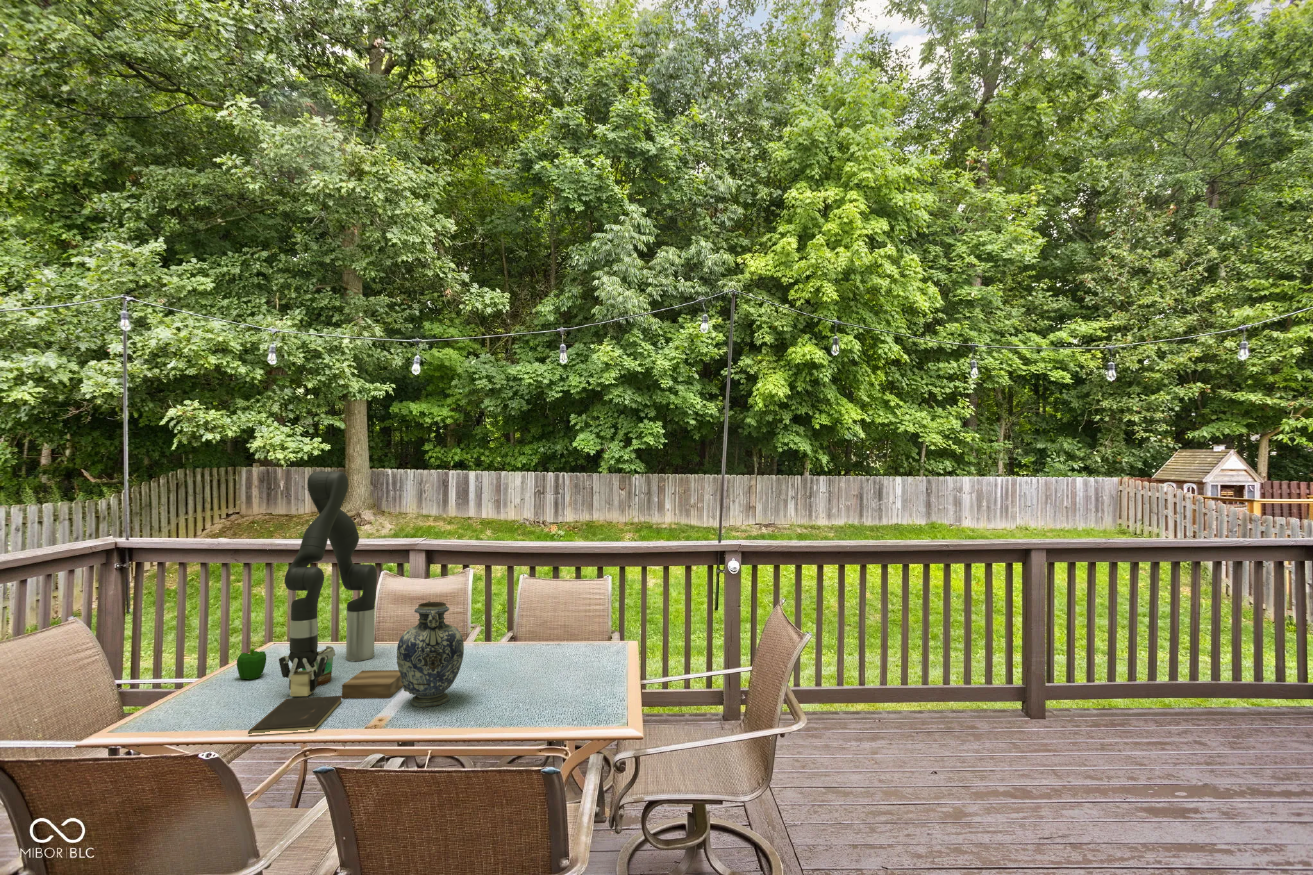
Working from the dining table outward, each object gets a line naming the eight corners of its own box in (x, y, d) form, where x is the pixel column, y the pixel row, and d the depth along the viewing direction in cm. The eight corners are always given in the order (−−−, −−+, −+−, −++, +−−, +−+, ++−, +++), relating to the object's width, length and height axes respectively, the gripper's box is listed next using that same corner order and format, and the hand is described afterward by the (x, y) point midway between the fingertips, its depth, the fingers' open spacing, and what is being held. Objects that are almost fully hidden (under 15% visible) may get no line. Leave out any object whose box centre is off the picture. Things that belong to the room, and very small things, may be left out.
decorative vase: (394, 693, 201) (396, 599, 202) (458, 686, 208) (460, 595, 210) (396, 718, 181) (399, 613, 183) (467, 709, 189) (469, 608, 190)
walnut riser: (362, 683, 212) (362, 670, 212) (406, 682, 212) (406, 669, 212) (341, 698, 198) (342, 684, 198) (389, 697, 198) (389, 684, 198)
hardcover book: (342, 703, 195) (342, 695, 195) (314, 734, 172) (315, 725, 172) (284, 706, 193) (284, 698, 193) (247, 738, 170) (247, 729, 170)
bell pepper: (240, 675, 221) (240, 644, 221) (268, 672, 223) (268, 642, 224) (232, 683, 213) (233, 651, 213) (262, 680, 215) (262, 648, 216)
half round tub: (317, 689, 206) (317, 656, 206) (299, 688, 207) (300, 655, 207) (343, 677, 218) (344, 646, 218) (326, 676, 219) (327, 645, 219)
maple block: (299, 690, 203) (299, 670, 203) (315, 690, 203) (316, 670, 203) (290, 696, 198) (290, 675, 198) (307, 695, 198) (307, 675, 198)
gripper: (333, 630, 205) (333, 686, 204) (286, 630, 205) (285, 687, 204) (321, 636, 198) (321, 695, 197) (272, 637, 197) (272, 695, 197)
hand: (303, 690), depth 201 cm, fingers closed on maple block, 5 cm apart
